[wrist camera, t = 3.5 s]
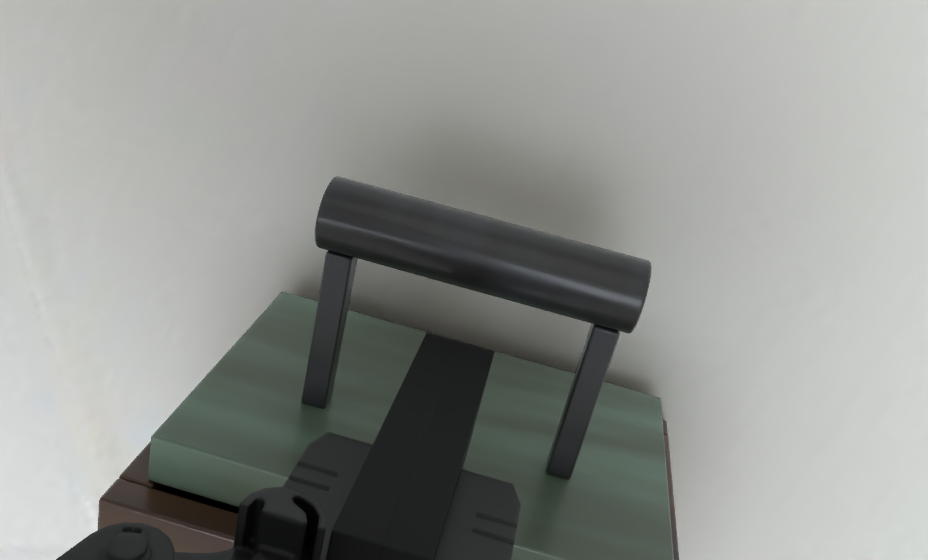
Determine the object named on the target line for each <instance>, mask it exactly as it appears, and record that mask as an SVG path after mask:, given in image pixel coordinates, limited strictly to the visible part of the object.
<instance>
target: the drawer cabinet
mask: <svg viewBox="0 0 928 560" xmlns="http://www.w3.org/2000/svg"><path fill="white" fill-rule="evenodd" d="M663 431H664V444H665V456H666V468H667V481H668V493H669V505H670V518H671V530H672V542H673V555H674V560H679V553H678V542H677V530H676V519H675V508H674V497H673V485H672V474H671V463H670V452H669V440H668V433H667V422H666V421H663ZM150 447H151V442H150V443H149V444H148V445H147V446H146V447H145V448H144V449H143V451H142V452H141V453H140V454H139V455H138V456H137V457H136V458H135V460H134V461H133V462H132V463H131V464H130V465H129V466H128V467H127V468H126V470H125V471H124V472H123V473H122V474H121V475H120V477H119V479H117V480H116V481H115V482H114V484H113V485H112V486H111V487H110V488H109V489H108V490H107V491H106V492H105V494H104V495H103V496H102V497H101V498H100V501H99V516H98V530H100V529H102V528H104V527H106V526H110V525H115V524H119V523H124V522H127V523H144V524H146V525H149V526H152V527H155V528H158V529H160V530H161V531H162V532H163V533H165V534H166V535H167V536H168V537H169V538H170V539H171V542H172V544H173V547H174V549H175V552H187V553H215V552H220V551H224V550H229V549H231V548H233V547H234V540H235V533H236V526H237V519H238V514H237V513H234V512H230V511H227V510H224V509H220V508H217V507H214V506H210V505H207V504H204V503H200V502H199V501H200V499H201V498H202V496H199V495H196V494H193V493H189V492H186V491H183V490H179V489H176V488H173V487H169V486H166V485H163V484H159V483H156V482H153V481H150V480H148V471H149V459H150Z"/></svg>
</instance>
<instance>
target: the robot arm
mask: <svg viewBox="0 0 928 560" xmlns="http://www.w3.org/2000/svg"><path fill="white" fill-rule="evenodd" d="M494 352H495V351H491V350H488V349H484V348H481V347H477V346H474V345H470V344H467V343H463V342H460V341H456V340H452V339H449V338H445V337H442V336H438V335H435V334H431V333H428V332H427V333H426V335H425V337H424V339H423V341H422V343H421V345H420V347H419V349H418V352H417V354H416V356H415V358H414V360H413V362H412V364H411V366H410V368H409V370H408V372H407V374H406V377H405V379H404V381H403V383H402V385H401V387H400V389H399V391H398V393H397V395H396V397H395V399H394V402H393V404H392V406H391V408H390V410H389V412H388V414H387V416H386V418H385V420H384V422H383V424H382V427H381V429H380V431H379V433H378V435H377V437H376V439H375V441H374V443H373V445H372V444H369V443H365V442H362V441H359V440H355V439H352V438H348V437H345V436H342V435H338V434H335V433H331V432H327V433H326V434H324V435H322V436H321V437H319V438H318V439H316V440H314V441H313V442H311V443H309V444H308V446H307V447H306V449H305V451H304V452H303V454H302V456H301V457H300V459H299V461H298V464H297V465H296V466H295V467H294V469H293V471H292V472H291V474H290V476H289V479H287V481H286V482H285V484H284V486H283V487H272V488H264V489H261V490H259V491H256V492H254V493H251V494H249V495H248V496H247V497H246V498H245V499H244V500H243V501H242V502H241V503H240V505H239V512H238V519H237V526H236V533H235V540H234V547H233V548H231V549H229V550H224V551H220V552H215V553H187V552H175V549H174V547H173V544H172V542H171V539H170V538H169V537H168V536H167V535H166V534H165V533H163V532H162V531H161V530H160V529H158V528H155V527H152V526H149V525H146V524H144V523H127V522H124V523H119V524H115V525H110V526H106V527H104V528H102V529H100V530H98V531H96V532H94V533H92V534H90V535H89V536H88V537H86V538H85V539H84V540H82V541H81V542H79V543H78V544H77V545H75V546H74V547H73V548H71V549H70V550H69V551H67V552H66V553H64V554H63V555H62V556H60V557H59V558H58V559H56V560H511V558H512V552H513V547H514V541H515V535H516V530H517V524H518V518H519V513H520V507H521V504H520V501H519V498H518V496H517V493H516V491H515V488H514V485H513V484H512V483H508V482H505V481H501V480H498V479H495V478H491V477H488V476H484V475H481V474H478V473H474V472H471V471H467V470H464V469H462V468H463V465H464V462H465V458H466V455H467V451H468V448H469V444H470V440H471V437H472V433H473V429H474V426H475V422H476V418H477V415H478V411H479V407H480V404H481V400H482V396H483V393H484V389H485V385H486V382H487V378H488V374H489V371H490V367H491V363H492V360H493V356H494Z"/></svg>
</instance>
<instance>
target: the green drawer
mask: <svg viewBox="0 0 928 560" xmlns="http://www.w3.org/2000/svg"><path fill="white" fill-rule="evenodd" d="M315 242H316V245H317V246H318V247H319V248H322V249H326V250H328V252H327V253H326V258H325V264H324V269H323V275H322V281H321V287H320V293H319V299H318V301H315V300H311V299H308V298H304V297H301V296H297V295H294V294H290V293H287V292H281V294H280V295H279V296H278V297H277V298H276V299H275V300H274V301H273V302H272V303H271V305H270V306H269V307H268V308H267V309H266V310H265V311H264V312H263V313H262V315H261V316H260V317H259V318H258V319H257V320H256V321H255V322H254V323H253V325H252V326H251V327H250V328H249V329H248V330H247V331H246V332H245V333H244V335H243V336H242V337H241V338H240V339H239V340H238V341H237V342H236V343H235V345H234V346H233V347H232V348H231V349H230V350H229V351H228V352H227V353H226V354H225V356H224V357H223V358H222V359H221V360H220V361H219V362H218V363H217V364H216V366H215V367H214V368H213V369H212V370H211V371H210V372H209V373H208V374H207V376H206V377H205V378H204V379H203V380H202V381H201V382H200V383H199V384H198V386H197V387H196V388H195V389H194V390H193V391H192V392H191V393H190V394H189V396H188V397H187V398H186V399H185V400H184V401H183V402H182V403H181V404H180V406H179V407H178V408H177V409H176V410H175V411H174V412H173V413H172V414H171V415H170V417H169V418H168V419H167V420H166V421H165V422H164V423H163V424H162V425H161V427H160V428H159V429H158V430H157V431H156V432H155V433H154V434H153V435H152V437H151V447H150V459H149V471H148V480H150V481H153V482H156V483H159V484H163V485H166V486H169V487H173V488H176V489H179V490H183V491H186V492H189V493H193V494H196V495H199V496H202V498H201V499H200V501H199V502H200V503H204V504H207V505H210V506H214V507H217V508H220V509H224V510H227V511H230V512H234V513H237V514H238V512H239V505H240V503H241V502H242V501H243V500H244V499H245V498H246V497H247V496H248V495H249V494H251V493H254V492H256V491H259V490H261V489H264V488H272V487H283V486H284V484H285V482H286V481H287V479H289V476H290V474H291V472H292V471H293V469H294V467H295V466H296V465H297V464H298V461H299V459H300V457H301V456H302V454H303V452H304V451H305V449H306V447H307V446H308V444H309V443H311V442H313V441H314V440H316V439H318V438H319V437H321V436H322V435H324V434H326V433H327V432H331V433H335V434H338V435H342V436H345V437H348V438H352V439H355V440H359V441H362V442H365V443H369V444H372V445H373V443H374V441H375V439H376V437H377V435H378V433H379V431H380V429H381V427H382V424H383V422H384V420H385V418H386V416H387V414H388V412H389V410H390V408H391V406H392V404H393V402H394V399H395V397H396V395H397V393H398V391H399V389H400V387H401V385H402V383H403V381H404V379H405V377H406V374H407V372H408V370H409V368H410V366H411V364H412V362H413V360H414V358H415V356H416V354H417V352H418V349H419V347H420V345H421V343H422V341H423V339H424V337H425V335H426V333H427V332H425V331H421V330H418V329H414V328H411V327H407V326H404V325H400V324H397V323H393V322H390V321H386V320H382V319H379V318H375V317H372V316H368V315H365V314H361V313H358V312H354V311H350V310H348V307H349V302H350V296H351V291H352V285H353V280H354V275H355V269H356V264H357V259H358V258H359V259H362V260H366V261H369V262H373V263H377V264H380V265H384V266H387V267H391V268H395V269H398V270H402V271H405V272H409V273H413V274H416V275H420V276H423V277H427V278H431V279H434V280H438V281H441V282H445V283H449V284H452V285H456V286H459V287H463V288H467V289H470V290H474V291H477V292H481V293H485V294H488V295H492V296H495V297H499V298H503V299H506V300H510V301H513V302H517V303H521V304H524V305H528V306H532V307H535V308H539V309H542V310H546V311H550V312H553V313H557V314H560V315H564V316H568V317H571V318H575V319H578V320H582V321H586V322H589V323H591V326H590V329H589V332H588V335H587V339H586V342H585V345H584V348H583V351H582V354H581V357H580V360H579V363H578V366H577V370H576V373H575V374H574V373H571V372H567V371H564V370H560V369H556V368H553V367H549V366H546V365H542V364H539V363H535V362H532V361H528V360H524V359H521V358H517V357H514V356H510V355H507V354H503V353H500V352H496V351H495V352H494V356H493V360H492V363H491V367H490V371H489V374H488V378H487V382H486V385H485V389H484V393H483V396H482V400H481V404H480V407H479V411H478V415H477V418H476V422H475V426H474V429H473V433H472V437H471V440H470V444H469V448H468V451H467V455H466V458H465V462H464V465H463V468H462V469H464V470H467V471H471V472H474V473H478V474H481V475H484V476H488V477H491V478H495V479H498V480H501V481H505V482H508V483H512V484H513V485H514V488H515V491H516V493H517V496H518V498H519V501H520V504H521V507H520V513H519V518H518V524H517V530H516V535H515V541H514V547H513V552H512V558H511V560H674V555H673V542H672V530H671V518H670V505H669V493H668V481H667V468H666V456H665V444H664V431H663V419H662V407H661V398H659V397H656V396H652V395H649V394H645V393H642V392H638V391H635V390H631V389H627V388H624V387H620V386H617V385H613V384H610V383H606V382H604V379H605V376H606V373H607V370H608V367H609V364H610V362H611V359H612V356H613V353H614V350H615V347H616V344H617V341H618V338H619V331H622V332H625V333H631V332H632V331H633V330H634V328H635V327H636V325H637V322H638V320H639V317H640V315H641V312H642V309H643V306H644V303H645V299H646V296H647V292H648V287H649V283H650V277H651V262H649V261H648V260H644V259H640V258H637V257H633V256H629V255H626V254H622V253H618V252H614V251H611V250H607V249H603V248H600V247H596V246H592V245H589V244H585V243H581V242H578V241H574V240H570V239H567V238H563V237H559V236H556V235H552V234H548V233H545V232H541V231H537V230H533V229H530V228H526V227H522V226H519V225H515V224H511V223H508V222H504V221H500V220H497V219H493V218H489V217H486V216H482V215H478V214H475V213H471V212H467V211H464V210H460V209H456V208H452V207H449V206H445V205H441V204H438V203H434V202H430V201H427V200H423V199H419V198H416V197H412V196H408V195H405V194H401V193H397V192H394V191H390V190H386V189H383V188H379V187H375V186H371V185H368V184H364V183H360V182H357V181H353V180H349V179H346V178H342V177H334V178H333V179H332V180H331V182H330V183H329V185H328V187H327V189H326V191H325V193H324V195H323V198H322V201H321V204H320V207H319V211H318V215H317V220H316V226H315ZM428 333H429V332H428ZM431 334H432V333H431ZM435 335H436V334H435ZM438 336H439V335H438ZM442 337H443V336H442ZM445 338H446V337H445ZM449 339H450V338H449ZM452 340H453V339H452ZM456 341H457V340H456ZM460 342H461V341H460ZM463 343H464V342H463ZM467 344H468V343H467ZM470 345H471V344H470ZM474 346H475V345H474ZM477 347H478V346H477ZM481 348H482V347H481ZM484 349H485V348H484ZM488 350H489V349H488ZM491 351H492V350H491Z"/></svg>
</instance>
